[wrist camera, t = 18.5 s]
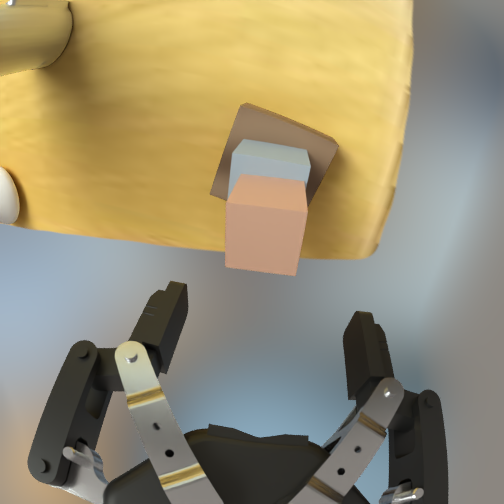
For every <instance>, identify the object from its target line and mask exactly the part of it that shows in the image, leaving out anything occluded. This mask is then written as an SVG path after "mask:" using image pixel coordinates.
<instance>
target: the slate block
mask: <svg viewBox="0 0 504 504" xmlns="http://www.w3.org/2000/svg"><path fill="white" fill-rule="evenodd" d="M310 168H311V165H310V161H309V157H308V153H307V150H305V149H300V148H295V147H290V146H284V145H279V144H273V143H267V142H261V141H254V140H247V139H243V140H242V141H241V143H240V144H239V145H238V146H237V148H236V149H235V150H234V151H233V153H232V160H231V169H230V179H229V189H228V198H229V196H230V194H231V192H232V190H233V188H234V186H235V184H236V182H237V180H238V178H239V177H240V175H241V174H248V175H258V176H267V177H276V178H284V179H292V180H299V181H304V183H305V190H306V186H307V181H308V177H309V173H310ZM227 200H228V199H227Z"/></svg>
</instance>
